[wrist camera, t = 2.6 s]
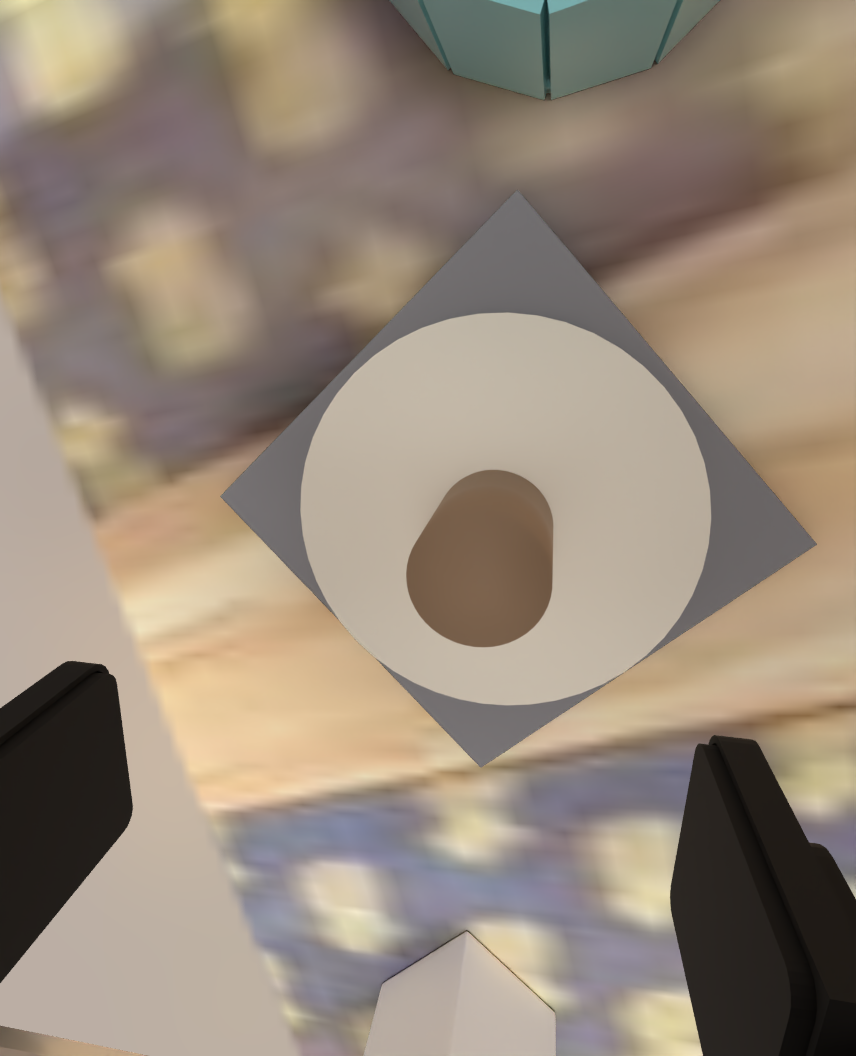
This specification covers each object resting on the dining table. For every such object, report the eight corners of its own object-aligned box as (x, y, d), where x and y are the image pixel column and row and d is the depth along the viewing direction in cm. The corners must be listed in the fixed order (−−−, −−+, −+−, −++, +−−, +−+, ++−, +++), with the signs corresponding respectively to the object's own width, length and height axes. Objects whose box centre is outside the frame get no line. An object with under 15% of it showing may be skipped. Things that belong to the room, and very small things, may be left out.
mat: (811, 539, 22) (817, 544, 22) (482, 759, 27) (480, 767, 27) (518, 192, 21) (517, 189, 20) (226, 493, 26) (220, 496, 25)
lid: (794, 542, 22) (875, 620, 16) (481, 752, 27) (461, 868, 21) (516, 214, 21) (500, 175, 15) (237, 497, 25) (146, 548, 20)
